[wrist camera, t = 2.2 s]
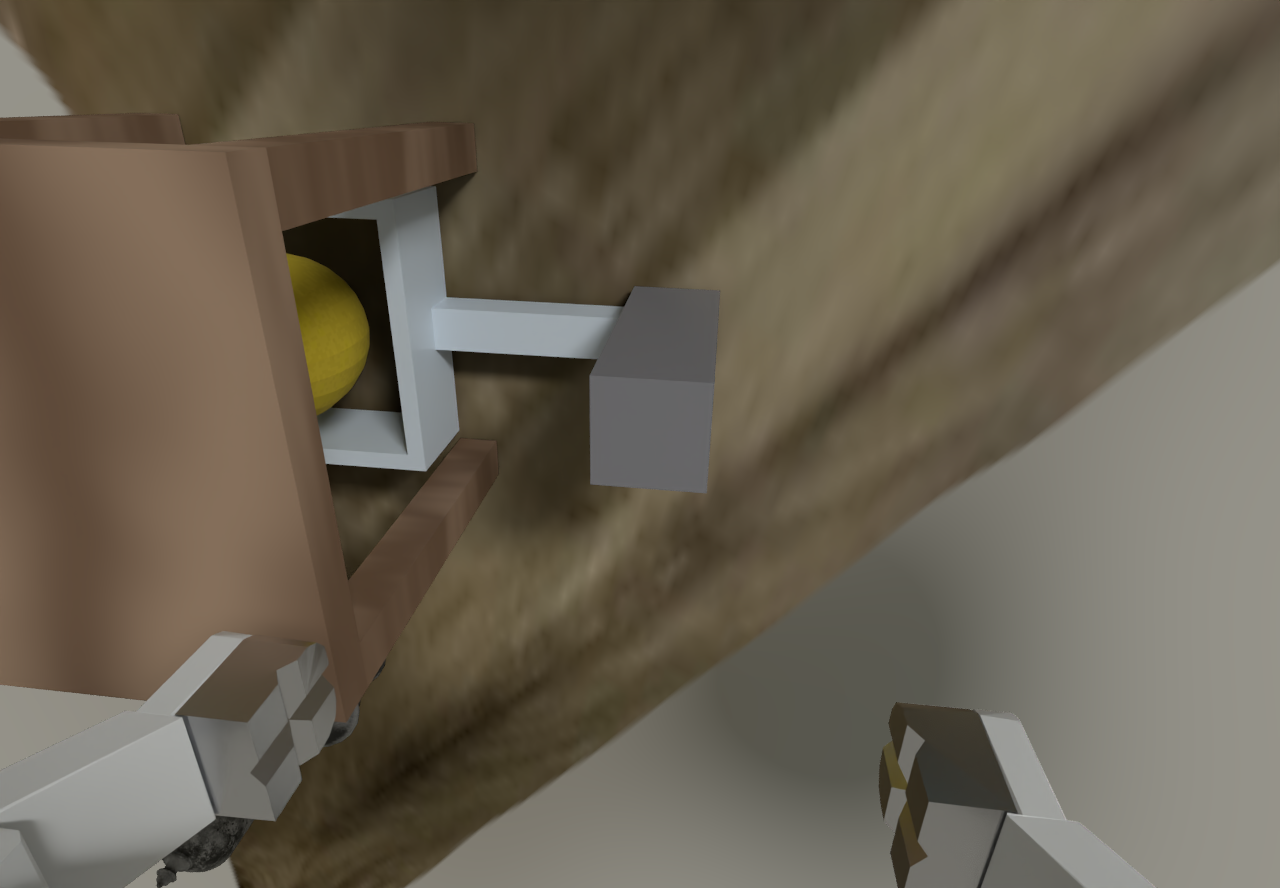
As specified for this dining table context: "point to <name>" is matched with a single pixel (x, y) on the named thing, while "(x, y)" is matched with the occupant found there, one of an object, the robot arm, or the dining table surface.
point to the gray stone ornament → (229, 827)
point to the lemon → (329, 330)
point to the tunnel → (189, 404)
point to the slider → (617, 336)
